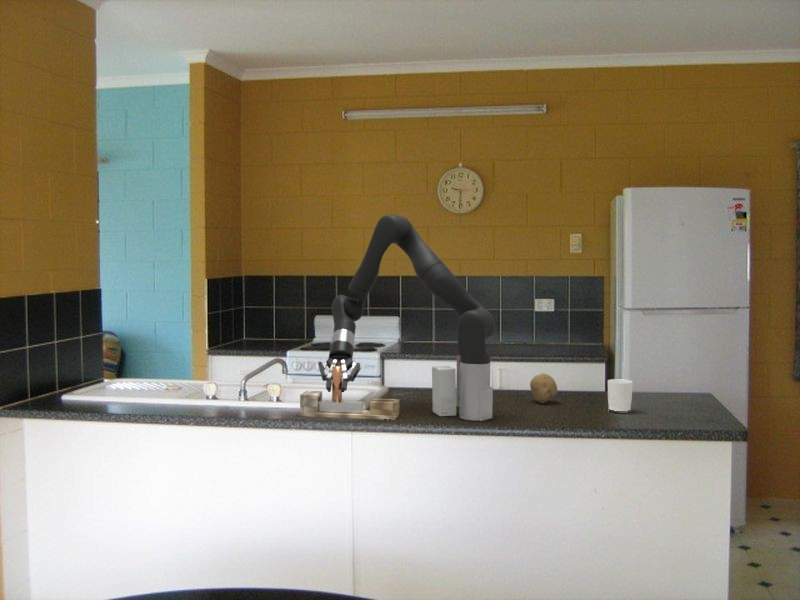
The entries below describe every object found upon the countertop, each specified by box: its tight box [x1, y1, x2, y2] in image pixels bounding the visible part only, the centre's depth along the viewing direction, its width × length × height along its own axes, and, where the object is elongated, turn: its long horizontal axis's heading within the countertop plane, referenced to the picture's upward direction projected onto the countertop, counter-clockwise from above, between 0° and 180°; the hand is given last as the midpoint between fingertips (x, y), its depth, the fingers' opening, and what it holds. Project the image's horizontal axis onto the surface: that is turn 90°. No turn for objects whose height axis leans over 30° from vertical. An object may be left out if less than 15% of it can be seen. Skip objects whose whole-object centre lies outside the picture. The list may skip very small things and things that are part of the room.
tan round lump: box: [529, 373, 558, 403], centre depth 275 cm, size 9×9×10 cm
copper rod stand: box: [318, 366, 364, 413], centre depth 251 cm, size 16×3×14 cm, turn 82°
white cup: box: [607, 378, 634, 411], centre depth 261 cm, size 8×8×10 cm
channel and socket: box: [298, 390, 400, 421], centre depth 251 cm, size 30×8×7 cm, turn 82°
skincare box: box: [431, 365, 457, 417], centre depth 255 cm, size 8×6×15 cm
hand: (335, 390), depth 249 cm, fingers open, 3 cm apart
